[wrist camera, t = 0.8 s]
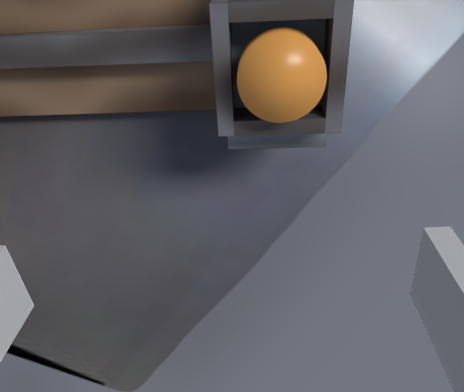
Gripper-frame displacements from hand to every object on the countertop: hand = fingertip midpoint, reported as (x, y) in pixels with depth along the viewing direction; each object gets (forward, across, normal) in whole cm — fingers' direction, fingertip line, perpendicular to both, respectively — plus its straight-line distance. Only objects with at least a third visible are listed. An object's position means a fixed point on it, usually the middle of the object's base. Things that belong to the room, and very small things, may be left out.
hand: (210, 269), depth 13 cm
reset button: (+15, +3, +2) cm, 16 cm away
